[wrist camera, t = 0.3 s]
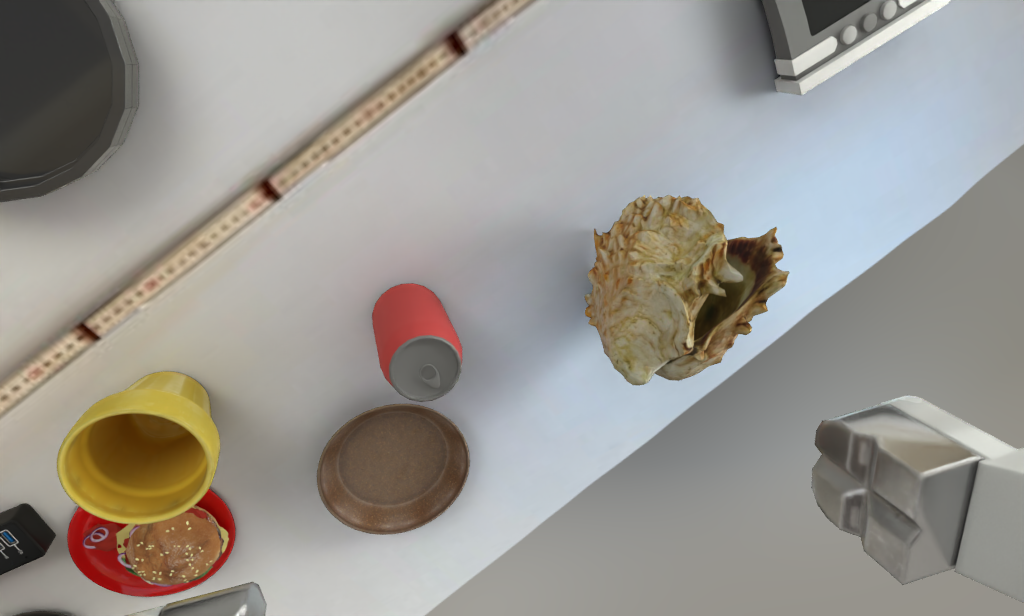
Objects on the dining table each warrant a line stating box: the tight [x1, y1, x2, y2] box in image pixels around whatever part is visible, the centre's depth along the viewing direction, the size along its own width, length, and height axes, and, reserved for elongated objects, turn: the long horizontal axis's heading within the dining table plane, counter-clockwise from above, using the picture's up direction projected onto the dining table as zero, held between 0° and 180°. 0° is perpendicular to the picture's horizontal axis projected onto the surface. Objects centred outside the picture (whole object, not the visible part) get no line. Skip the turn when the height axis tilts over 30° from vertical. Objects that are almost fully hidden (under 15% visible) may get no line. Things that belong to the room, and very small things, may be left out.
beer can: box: [372, 283, 462, 402], centre depth 52 cm, size 7×7×12 cm
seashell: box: [585, 195, 789, 385], centre depth 54 cm, size 18×18×15 cm
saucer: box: [317, 404, 470, 535], centre depth 61 cm, size 15×15×3 cm
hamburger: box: [67, 489, 235, 597], centre depth 55 cm, size 14×14×6 cm
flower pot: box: [57, 371, 220, 524], centre depth 49 cm, size 10×10×10 cm
